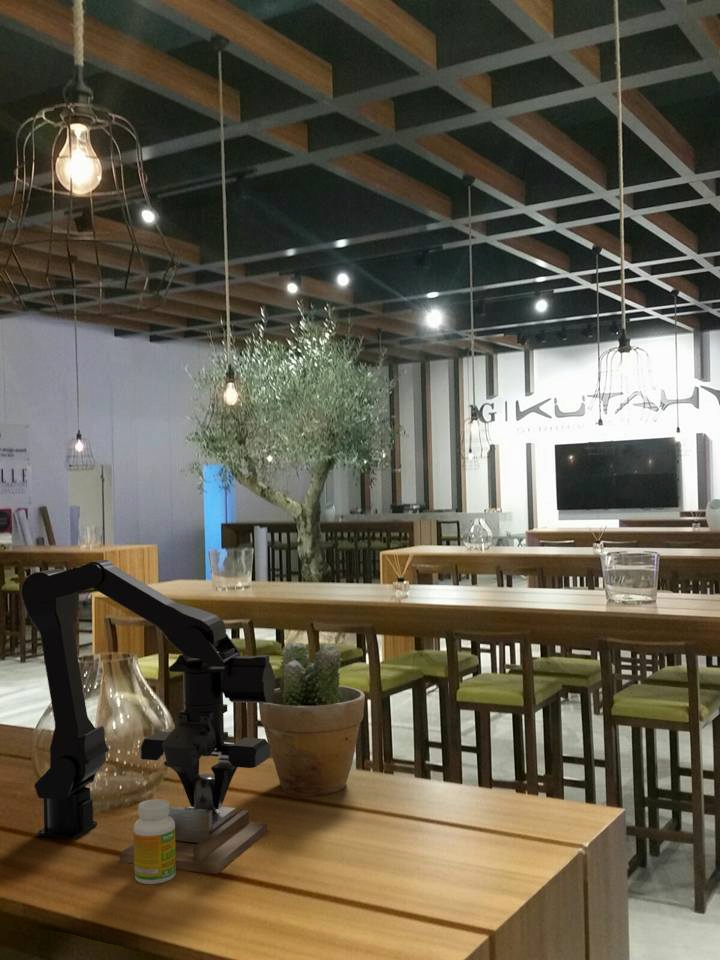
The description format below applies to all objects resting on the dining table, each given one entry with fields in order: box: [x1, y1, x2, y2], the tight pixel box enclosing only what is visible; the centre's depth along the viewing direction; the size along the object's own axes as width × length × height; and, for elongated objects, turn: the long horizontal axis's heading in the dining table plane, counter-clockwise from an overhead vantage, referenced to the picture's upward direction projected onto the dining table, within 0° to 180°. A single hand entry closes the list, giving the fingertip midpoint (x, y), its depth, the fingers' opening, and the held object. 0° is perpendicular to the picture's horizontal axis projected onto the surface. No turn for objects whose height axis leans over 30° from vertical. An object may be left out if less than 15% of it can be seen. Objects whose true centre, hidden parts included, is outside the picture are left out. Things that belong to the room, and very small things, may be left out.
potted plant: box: [258, 641, 366, 797], centre depth 163 cm, size 18×19×25 cm
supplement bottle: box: [133, 798, 177, 885], centre depth 126 cm, size 5×5×10 cm
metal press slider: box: [168, 773, 237, 843], centre depth 138 cm, size 7×8×7 cm
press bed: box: [119, 809, 268, 875], centre depth 137 cm, size 15×16×3 cm
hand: (206, 807), depth 140 cm, fingers closed on metal press slider, 4 cm apart
